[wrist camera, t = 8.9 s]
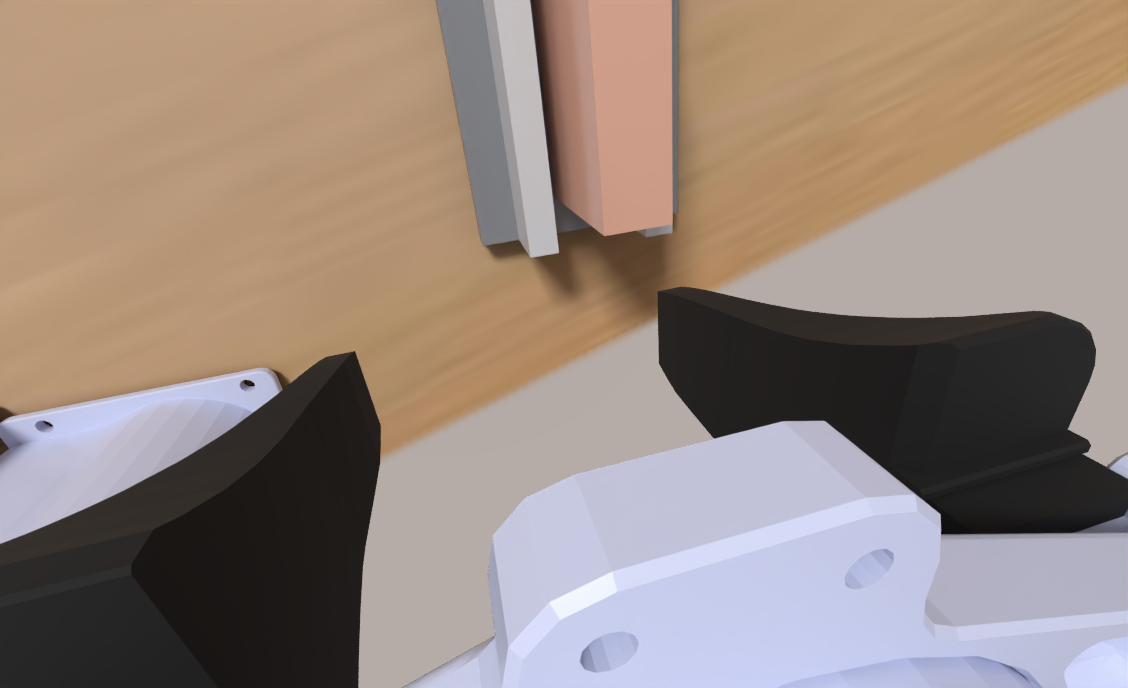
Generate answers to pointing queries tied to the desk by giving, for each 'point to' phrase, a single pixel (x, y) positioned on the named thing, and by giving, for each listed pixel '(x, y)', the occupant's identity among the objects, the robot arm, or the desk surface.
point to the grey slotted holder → (514, 122)
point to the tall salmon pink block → (609, 109)
